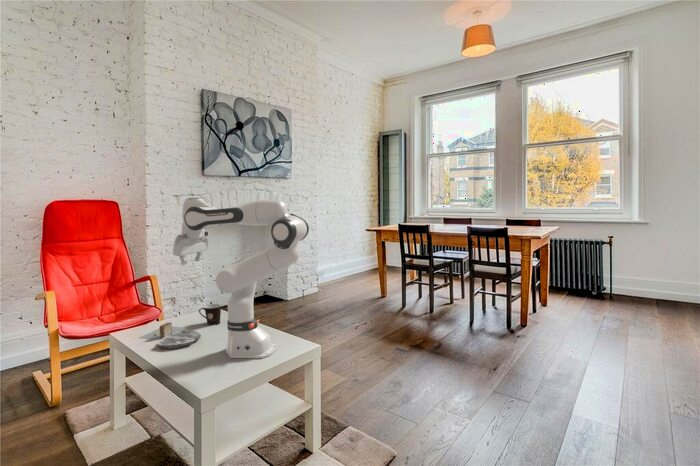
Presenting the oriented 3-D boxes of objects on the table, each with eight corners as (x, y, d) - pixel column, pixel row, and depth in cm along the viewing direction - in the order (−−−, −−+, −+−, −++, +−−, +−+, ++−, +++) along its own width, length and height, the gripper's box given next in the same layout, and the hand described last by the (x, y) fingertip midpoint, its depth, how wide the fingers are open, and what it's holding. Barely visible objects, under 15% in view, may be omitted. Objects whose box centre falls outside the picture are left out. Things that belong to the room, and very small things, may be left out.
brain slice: (184, 353, 164) (184, 346, 164) (151, 350, 168) (150, 344, 168) (209, 337, 184) (209, 331, 183) (179, 335, 187) (178, 329, 187)
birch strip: (169, 329, 193) (169, 327, 193) (156, 335, 185) (156, 333, 184) (167, 329, 193) (167, 327, 193) (154, 335, 185) (154, 333, 185)
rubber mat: (187, 328, 196) (187, 327, 196) (162, 341, 178) (162, 340, 178) (165, 326, 199) (165, 325, 199) (138, 338, 182) (138, 337, 182)
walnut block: (172, 334, 186) (171, 322, 185) (164, 338, 181) (163, 326, 180) (168, 334, 187) (167, 322, 186) (160, 338, 181) (159, 326, 181)
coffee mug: (225, 322, 204) (224, 305, 203) (212, 327, 197) (211, 309, 196) (211, 319, 210) (210, 302, 209) (198, 323, 203) (197, 306, 202)
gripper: (182, 236, 157) (181, 267, 159) (211, 232, 177) (210, 260, 178) (169, 234, 159) (168, 265, 160) (200, 230, 178) (198, 258, 180)
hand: (190, 262), depth 169 cm, fingers open, 8 cm apart
